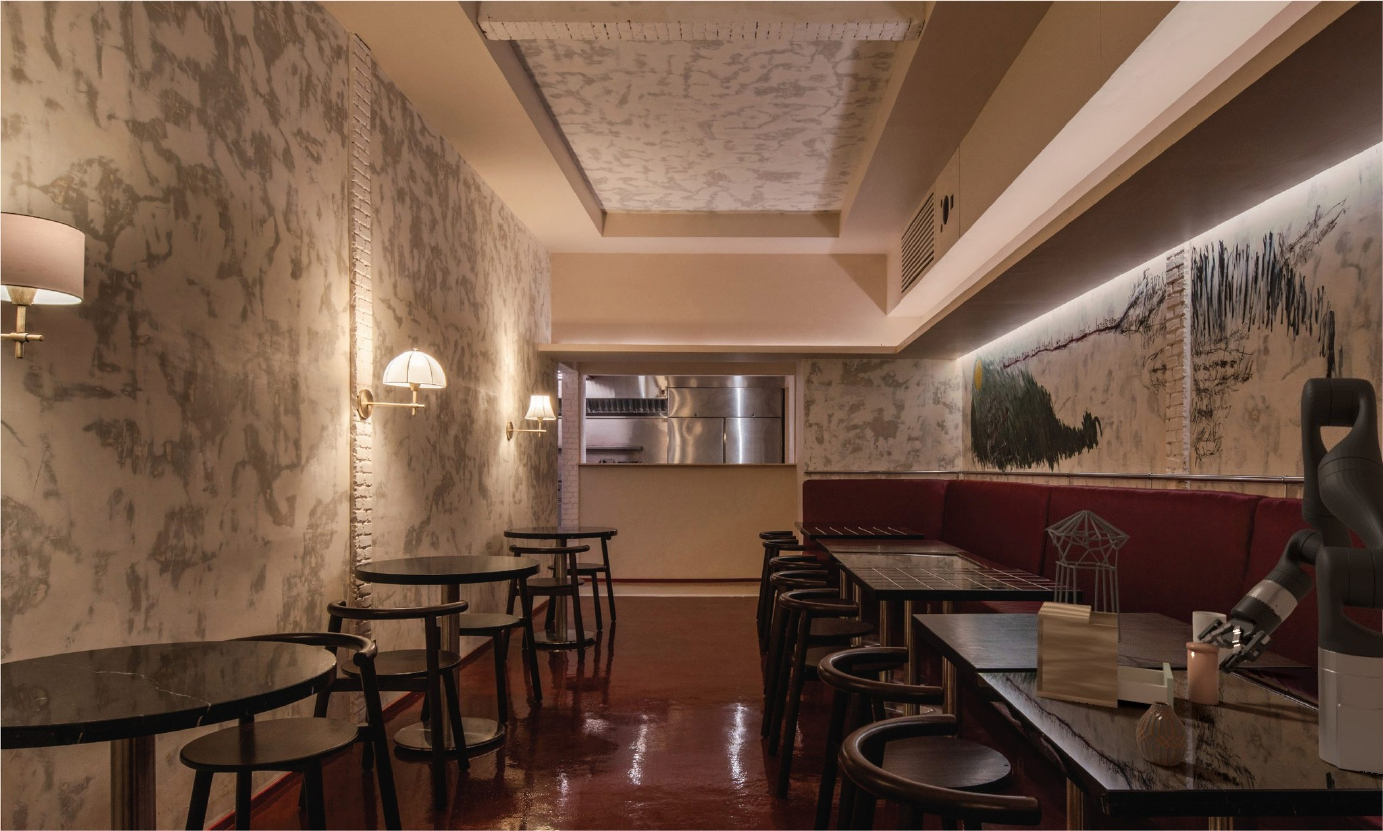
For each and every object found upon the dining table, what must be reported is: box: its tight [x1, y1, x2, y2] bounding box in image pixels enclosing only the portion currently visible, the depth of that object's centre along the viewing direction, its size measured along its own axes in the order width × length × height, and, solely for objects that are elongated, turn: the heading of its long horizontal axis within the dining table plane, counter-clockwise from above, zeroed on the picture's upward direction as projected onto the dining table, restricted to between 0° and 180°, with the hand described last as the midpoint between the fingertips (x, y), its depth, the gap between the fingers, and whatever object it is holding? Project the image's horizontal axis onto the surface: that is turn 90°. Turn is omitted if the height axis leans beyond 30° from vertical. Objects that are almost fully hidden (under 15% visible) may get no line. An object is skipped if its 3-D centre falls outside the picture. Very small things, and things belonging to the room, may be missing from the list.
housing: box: [1036, 601, 1119, 709], centre depth 169 cm, size 18×14×16 cm
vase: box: [1135, 701, 1189, 767], centre depth 129 cm, size 7×7×9 cm
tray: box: [1117, 662, 1174, 710], centre depth 165 cm, size 15×13×6 cm
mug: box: [1192, 610, 1234, 669], centre depth 198 cm, size 10×7×12 cm, turn 68°
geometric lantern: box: [1043, 509, 1131, 644], centre depth 205 cm, size 16×16×35 cm
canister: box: [1185, 641, 1220, 706], centre depth 165 cm, size 6×6×11 cm
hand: (1208, 665), depth 166 cm, fingers open, 8 cm apart
